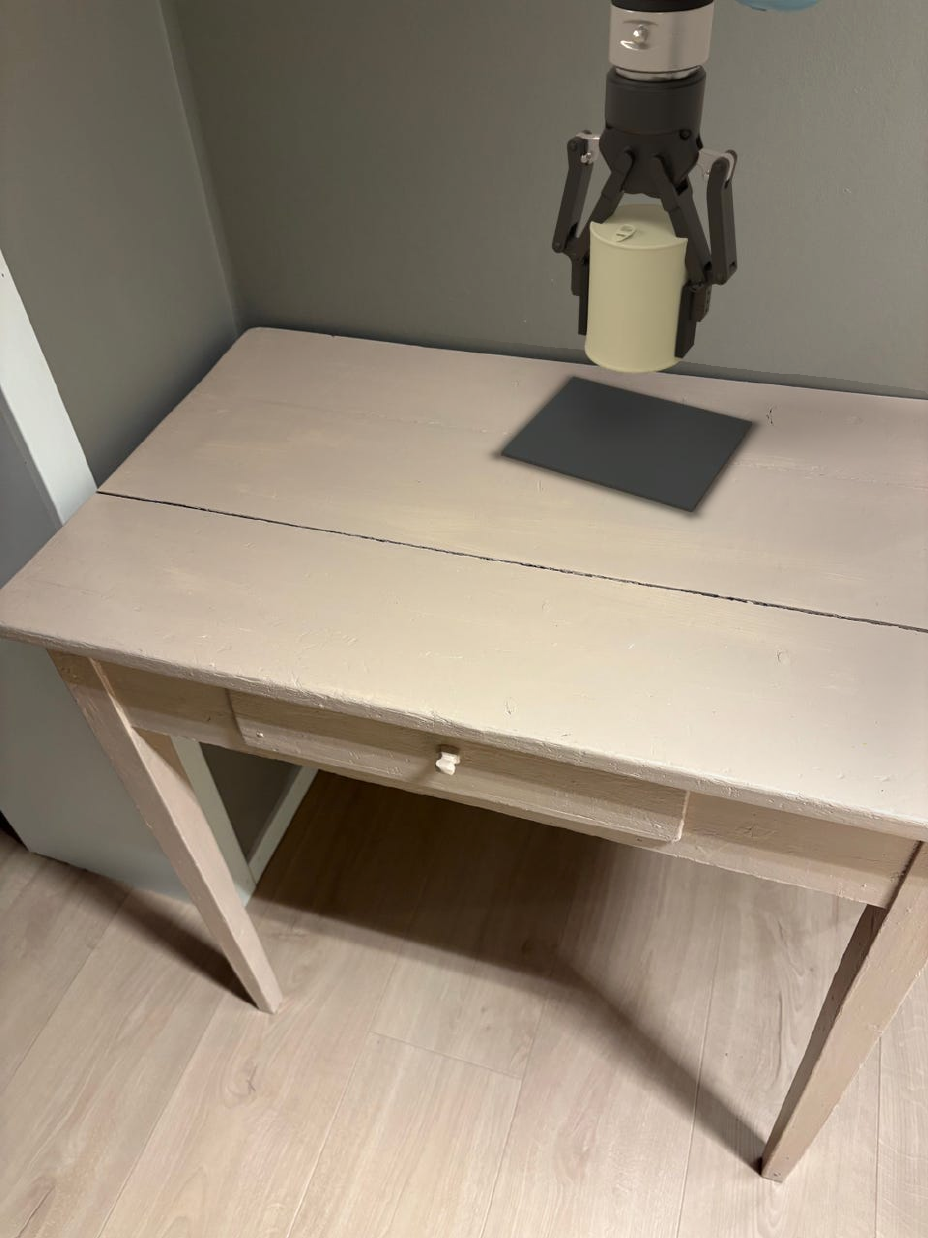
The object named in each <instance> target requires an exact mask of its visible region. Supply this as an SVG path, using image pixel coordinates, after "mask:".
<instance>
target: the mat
mask: <svg viewBox="0 0 928 1238" xmlns="http://www.w3.org/2000/svg"><path fill="white" fill-rule="evenodd" d="M752 425H753V421H751V420H747V419H743V418H740V417H739V418H738V417H736V416H732V415H727V414H724V413H719V412H717V411H716V412H715V411H712V410H708V409H704V408H699V407H696V406H691V405H688V404H683V403H680V402H676V401H673V400H668V399H665V398H660V397H656V396H652V395H648V394H644V393H640V392H636V391H634V390H633V391H632V390H629V389H625V388H620V387H617V386H613V385H609V384H604V383H602V382H601V383H600V382H597V381H593V380H589V379H584V378H581V377H577V376H573V377H572V378H571V379H570V380H569V381H568V382H567V383H565V385H564V386H563V387H562V388H561V389H560V390H559V391H558V392H557V394H555V395H554V397H552V398H551V399H550V400H549V401H548V402H547V404H545V405H544V407H543V408H541V409H540V411H539V412H537V414H536V415H535V416H534V417H532V419H531V420H530V421H529V422H528V423H527V424H526V425H525V426H524V427H523V428H522V429H521V430H520V431H519V432H518V434H516V436H515V437H513V438H512V439H511V440H510V441H509V442H508V444H507V445H506V446H504V448H502V450H501V451H500V455H501V456H504V457H507V458H510V459H514V460H517V461H521V462H524V463H528V464H531V465H533V466H537V467H541V468H543V469H548V470H550V471H554V472H557V473H560V474H564V475H568V476H571V477H575V478H577V479H581V480H584V481H588V482H591V483H594V484H598V485H601V486H603V487H608V488H612V489H614V490H618V491H621V492H624V493H628V494H630V495H634V496H637V497H641V498H645V499H648V500H651V501H653V502H658V503H661V504H664V505H667V506H671V507H673V508H678V509H681V510H684V511H688V512H690V513H691V512H693V511H694V510H695V509H696V507H697V506H698V505H699V503H700V501H701V500H702V499H703V497H704V495H706V492H707V491H708V489H709V488H710V486H711V485H712V483H713V482H714V481H715V479H717V476H718V475H719V474H720V473H721V471H722V470H723V468H724V466H725V465H726V464H727V462H728V460H729V459H730V458H731V456H732V455H733V453H734V452H735V450H736V449H737V447H738V446H739V445H740V443H741V442H742V440H743V439H744V437H745V436H746V434H747V433H748V431H749V430H750V428H751V427H752Z"/></svg>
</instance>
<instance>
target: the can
mask: <svg viewBox="0 0 928 1238" xmlns="http://www.w3.org/2000/svg"><path fill="white" fill-rule="evenodd" d="M687 242H688V239H687V238H677V237H676V235H675V232H674V229H673V226H672V223H671V220H670V217H669V214H668V212H666V211H665V210H664V208H663V206H662V204H658V203H632V204H624V205H618V206H617V208H616V210H615V212H614V214H613V215H611V216H610V217H609V218H608V219H607V220H606V221H604V222H603V223H602V224H599V223H595V222H593V221H592V222H591V223H590V275H589V301H588V323H587V335H586V336H585V337H586V339H585V341H584V352H585V354H586V356H587V357H588V359H589V360H590V361H591V362H593V363H594V364H596V365H597V366H599V367H600V368H604V369H606V370H609V371H612V372H617V373H621V374H633V375H634V374H635V375H637V374H638V375H639V374H640V375H641V374H651V373H657V372H660V371H664V370H666V369H669V368H672V367H673V366H675V365H676V364H678V363H679V362H680V361H681V360H682V358H678V357H675V348H676V339H677V330H678V321H679V312H680V303H681V294H682V287H683V286H684V285H685V284H686V283H687V282H688V281H689V280H690V276H689V273H688V270H687V267H686V264H685V261H684V260H685V253H686V246H687Z"/></svg>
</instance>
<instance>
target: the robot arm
mask: <svg viewBox="0 0 928 1238" xmlns="http://www.w3.org/2000/svg"><path fill="white" fill-rule="evenodd" d="M735 1H737V3H738V4H740V5H741V6H743V7H746V6H747V7H749V8H750V9H752V10H755V11H760V12H766V11H773V12H777V13H783V14H796V13H800V12H804V11H808V10H810V9H812V8H814V7H815V6H816V5H817V4H819V3H820V2H821V1H822V0H735ZM609 3H610V4H609V22H608V40H607V41H608V42H607V61H608V62H609V63H610V64H611V67H610V69H609V70H608V71H607V72H606V77H605V96H604V98H605V99H604V121H605V122H604V129H603V130H602V132H601V133H596V134H595V133H594V134H593V133H592V132H591V131H590V130H589V129H584V130H581V131H580V132H579V133H577V135H575V136H573V137H572V138H570V139H569V140H568V142H567V143H566V152H567V153H566V154H567V165H568V170H567V174H566V178H565V184H564V187H563V191H562V192H563V193H562V197H561V201H560V206H559V210H558V214H557V219H556V223H555V227H554V231H553V232H554V233H553V237H552V240H551V250H552V251H553V252H554V253H555V254H563V255H565V256H567V257H568V258H569V259H570V263H571V275H570V276H571V281H570V290H571V293H572V295H573V296H575V297H578V320H577V321H578V322H577V324H578V325H577V334H578V335H580V336H584V337H587V323H588V301H589V275H590V223H591V222H592V221H593V222H595V223H599V224H602V223H603V222H604V221H606V220H607V219H608V218H609V217H610V216H611V215H613V214H614V212H615V210H616V208H617V207H618V206H619V204H620V203H621V201H622V199H623V197H624V196H625V194H627V195H641V194H642V195H644V196H647V197H649V198H651V199H657V200H660V202H661V205H662V206H663V208H664V210H665V211H666V212H668V214H669V217H670V220H671V223H672V226H673V229H674V232H675V235H676V237H677V238H687V239H688V242H687V246H686V253H685V260H684V261H685V264H686V267H687V270H688V273H689V276H690V280H689V281H688V282H687V283H686V284H685V285H684V286H683V287H682V294H681V303H680V312H679V321H678V330H677V339H676V348H675V357H678V358H682V359H684V358H685V356H686V355H687V354H688V353H689V352H690V350H691V349H692V348H693V347H694V346H695V339H696V331H697V324H698V323H701V322H702V321H703V319H704V318H706V316H707V315H708V313H709V311H710V305H711V298H712V291H713V285H718V286H723V285H725V284H726V283H727V282H728V281H729V280H730V279H731V278H732V276H733V275H734V274H735V273H736V272H737V271H738V254H737V239H736V238H737V237H736V226H735V225H736V223H735V211H734V210H735V209H734V198H733V197H734V196H733V182H732V181H733V177H734V173H735V170H736V166H737V162H738V154H737V152H736V151H735V150H733V149H727V150H725V151H724V152H720V151H716V150H712V149H709V148H706V147H705V146H704V142H703V140H702V137H701V125H702V120H703V119H702V118H703V111H704V110H703V109H704V100H705V93H706V81H707V72H706V70H705V69H704V66H702V65H703V64H704V63H706V61H707V60H709V57H710V56H709V55H710V48H711V37H712V27H713V20H714V10H715V0H610V2H609ZM599 154H601V155H602V157H603V160H604V161H605V163H606V165H607V167H608V169H609V171H610V174H609V176H608V178H607V180H606V182H605V184H604V185H603V188H602V190H601V191H600V196H599V198H598V200H597V202H596V203H595V205H594V207H593V209H592V211H591V214H590V215H589V217H588V218H587V221H586V223H585V225H584V226H583V229H582V230H581V232H580V234H579V236H577V235H578V231H579V227H580V223H581V219H582V214H583V211H584V206H585V202H586V199H587V195H588V190H589V186H590V181H591V177H592V173H593V170H594V165H595V161H597V159H598V157H599ZM696 166H698V167H700V169H701V174H702V175H701V177H702V181H703V182H705V183H707V184H706V190H705V191H706V192H705V193H706V194H705V197H706V199H705V200H706V210H707V221H708V222H707V223H708V233H709V234H708V235H709V244H708V241H707V238H706V235H705V231H704V229H703V225H702V222H701V219H700V217H699V213H698V210H697V207H696V203H695V201H694V198H693V197H694V196H693V195H694V189H693V185H692V182H691V179H690V176H689V174H690V173H691V172H692V171H693V170H694V168H695V167H696ZM709 245H710V247H709ZM682 359H681V360H682Z"/></svg>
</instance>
